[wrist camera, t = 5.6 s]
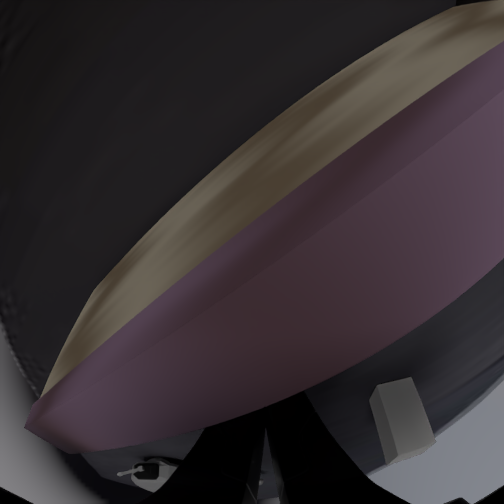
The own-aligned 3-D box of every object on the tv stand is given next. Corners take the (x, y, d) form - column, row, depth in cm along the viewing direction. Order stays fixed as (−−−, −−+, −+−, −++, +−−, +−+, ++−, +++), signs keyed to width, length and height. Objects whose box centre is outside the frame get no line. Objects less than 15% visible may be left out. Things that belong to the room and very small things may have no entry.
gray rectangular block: (411, 376, 18) (436, 441, 13) (401, 392, 19) (422, 453, 14) (376, 385, 18) (398, 455, 13) (368, 400, 19) (386, 465, 14)
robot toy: (225, 438, 24) (116, 448, 26) (227, 477, 20) (112, 479, 22) (265, 464, 30) (172, 475, 32) (269, 493, 26) (171, 500, 28)
